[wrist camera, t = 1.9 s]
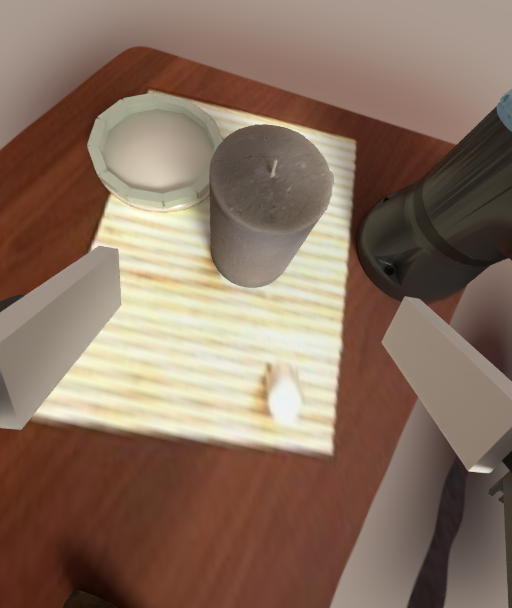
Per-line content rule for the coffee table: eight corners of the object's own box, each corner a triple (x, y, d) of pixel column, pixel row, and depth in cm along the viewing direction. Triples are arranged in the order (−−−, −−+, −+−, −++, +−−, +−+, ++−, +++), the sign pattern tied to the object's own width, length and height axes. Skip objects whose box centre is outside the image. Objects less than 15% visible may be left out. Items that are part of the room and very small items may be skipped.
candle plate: (232, 121, 39) (233, 108, 37) (214, 223, 34) (214, 214, 33) (113, 95, 37) (107, 80, 35) (78, 199, 33) (70, 188, 31)
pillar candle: (205, 220, 34) (196, 110, 20) (280, 211, 36) (323, 105, 22) (218, 295, 32) (219, 233, 18) (297, 282, 34) (357, 216, 20)
